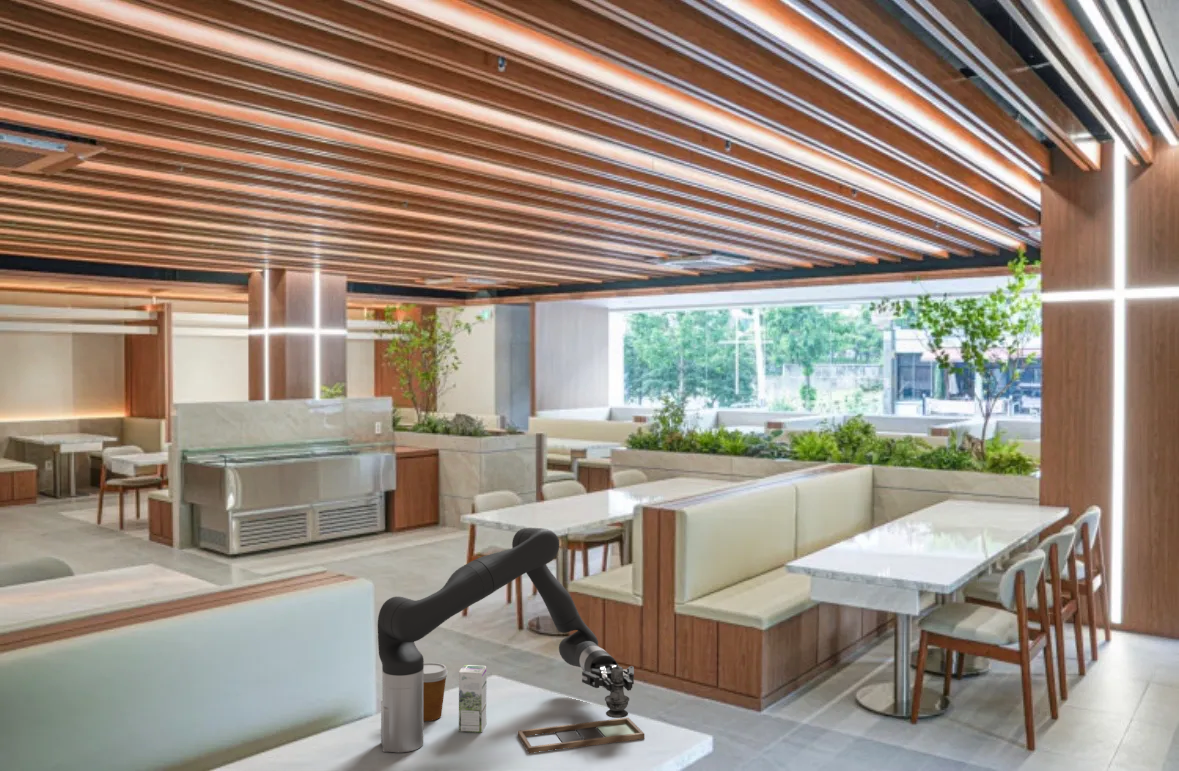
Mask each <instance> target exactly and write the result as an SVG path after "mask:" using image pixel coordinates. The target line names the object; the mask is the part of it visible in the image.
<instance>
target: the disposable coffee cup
mask: <svg viewBox="0 0 1179 771" xmlns="http://www.w3.org/2000/svg"><path fill="white" fill-rule="evenodd" d="M448 674H449V670H447V666H446V665H445V664H443V663H438V662H424V714H423V722H431V721H436V720H438V718H439V719H440V718H442V714H443V712H442V711H443V704H444V697H445V696H444V695H445V689H446V679H447V677H448Z"/></svg>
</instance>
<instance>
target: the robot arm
mask: <svg viewBox="0 0 1179 771" xmlns="http://www.w3.org/2000/svg"><path fill="white" fill-rule="evenodd" d="M511 545H512V546H511V547H512V548H509V549H505V550H502V551H497V552H494V553H490V554H486V555H484V556H481V557H478V558H476V559H473V560H471V561H469V562H468V563H466V564H464V565H462V566H461V567H459V568H458V569H456V570H455V571H453V573H452V574H451V575H450V577H449V578H448V579H447V581H446V583H445V584H444V585H443V587H442V588H440V590H438V591H435V592H434V593H432V594H430V595H428V596H426V597H424V598H420V599H417V600H414V599H411V598H407V597H404V596H393V597H390V598H388V599H386V601H385V602H383V604H382V606H381V607H380V609H379V613H378V617H377V645H378V646H377V648H378V656H379V659H380V662H381V665H382V666H381V668H382V670H381V672H382V674H381V675H382V680H381V681H382V683H381V684H382V688H381V689H382V690H381V696H382V697H381V698H382V699H381V702H380V705H381V706H380V708H381V709H380V712H381V713H380V733H381V734H380V742H381V747H382V748H381V749H382V751H383V752H385V753H386V752H390V753H408V752H412V751H416V750H417V749H420V748H422V746H423V745H424V738H425V737H424V721H423V714H424V663H425V662H424V661H425V660H424V656H423V654H422V653H421V652H420V651H419V649H418V648H417V646H416V644H415V642H417V641H420V640H421V639H423V638H424V637H426V636H427V635H429V634H431V633H432V631H434V630H435V629H437V628H438V627H440V626H441V625H442V624H443V623H445V622H446V621H448V620H449V619H450V618H452V617H454V616H455V615H457V614H458V613H460V612H463V611H464V610H465V609H467V608H469V607H471V606H473V604H476V603H478V602H480V601H481V600H484V599H485V598H487V597H488V596H491V595H492V594H493V593H495V592H497V591H498V590H499V589H501V588H503V587H504V586H506V585H508V584H510V583H512V582H513V581H515V580H516V579H518V578H519V577H521V576H522V575H525V574H527V576H528V578H529V579H530V581H531V583H532V584H533V585H534V587H535V589H536V591H537V592H538V593H539V595H540V597H541V598H542V600H543V603H544V605H545V607H546V609H547V611H548V614H549V615H550V617H551V621H552V622H553V624H554V627H555V628H556V630H557V631H558V633H559V632H560V633H568V632H572V631H575V632H572V634H570V635H568V636H566V637H565V638H563V639H562V640H561V641H560V642H559V645H558V652H559V655H560V657H561V658H562V660H563V661H564V662H566V663H567V664H568V665H571V666H573V667H577V668H581V670H582V671H581V682H582V683H583V684H585V685H588V686H590V687H592V688H595V689H599V688H600V687H602V688H603V689H605V690H606V691H608V692H610V693H611V692H614V683H613V682H612V681H611V670H612V668H614V667H616V664H617V663H618V662H617V661H616V659H615V658H614V657H613V656H612V655H611V654H610V653H608V652H607V651H606V650H605V649H604V648H602V647H600V646H599V640H598V637H597V636H596V635H595V633H594V632H593V631H592V629H590V627H589V626H587V624H586V623H585V622H584V620H583V619H582V617H581V616H580V614H579V611H578V609H577V606H576V604H575V602H574V600H573V598H572V596H571V595H570V592H568V590H567V589H566V587H564V585H563V584H562V583H561V582H560V581H559V580H558V579H557V578H556V577H555V575H554V574H553V573H552V572H551V570H550V569H549V567H548V566H547V565H548V564H549V563H551V562H552V561H553V560H554V559H555V558H556V556H557V555H558V552H559V549H560V539H559V537H558V535H557V534H556V533H555V532H554V531H552V530H549V529H547V528H541V527H540V528H539V527H523V528H521V529H519V530H518V531H516V532H515V534H514V535H513V537H512V544H511ZM618 666H619V665H618ZM619 667H621V668H622V669H623V681H624V682H625V684H624V689H625V690H627V692H628V691H631V690H632V689H633V685H634V684H635V668H634V666H633V665H631V666H628V667H627V668H625V669H624V668H623V666H619Z"/></svg>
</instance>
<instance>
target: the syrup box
mask: <svg viewBox="0 0 1179 771" xmlns="http://www.w3.org/2000/svg"><path fill="white" fill-rule="evenodd" d="M487 672H488V671H487V665H481V664H480V665H479V664H478V665H476V664H463V666H462V667H461V668H460V669H459V671H458V733H459V732H460V733H476V734H477V733H478V734H480V733H481V734H482V732H483V731H484V730H483V729H485V728H486V726H487V721H488V719H487V689H488V688H487V687H488V686H487V682H488V681H487V680H488V679H487V678H488V674H487ZM484 727H485V728H484Z"/></svg>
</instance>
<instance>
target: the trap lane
mask: <svg viewBox="0 0 1179 771" xmlns="http://www.w3.org/2000/svg"><path fill="white" fill-rule="evenodd" d="M553 732H555V733H553ZM542 733H544V734H542ZM545 733H548V734H555V735H556V734H557V735H556V736H557V737H558V739H559V738H560V739H559V740H560V742H557V743H556V742H555V743H549V744H540V745H539V744H538V745H532V744H531V743H530V741H529V740H528V739H527V737H531V736H530V735H532V736H536V735H535V734H540V735H546V734H545ZM517 738H518V739H519V740H520V742H521V743H522V744H523V745H522V746H524V748H525V749H527V750H526V752H527V753H528V754H535V753H534V752H537V753H540V752H539V751H545V752H549V751H548V750H553V751H556V750H555V749H561V750H564V749H563V748H568V749H573V748H574V747H576V748H583V747H584V748H585V747H591V746H599V745H605V744H614V743H615V744H616V743H621V742H629V741H630V740H631V741H637V739H639V740H645V732H644V731H642V730H641V729H640V728H639V727H638V725H637V724H635V723H634V721H632V719H630V718H629V717H623V718H611V719H604V720H596V721H589V722H588V721H587V722H581V723H580V722H579V723H573V724H572V723H570V724H562V725H555V726H547V727H537V728H529V729H522V730H518V731H517ZM631 741H630V742H631ZM574 749H575V748H574Z"/></svg>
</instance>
